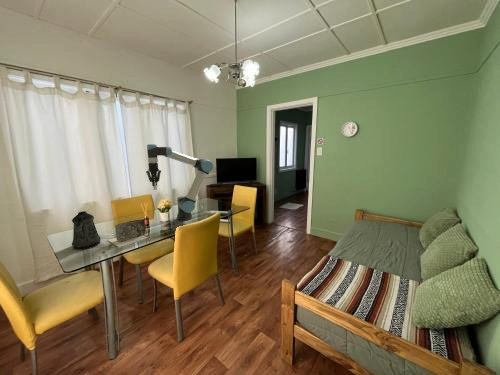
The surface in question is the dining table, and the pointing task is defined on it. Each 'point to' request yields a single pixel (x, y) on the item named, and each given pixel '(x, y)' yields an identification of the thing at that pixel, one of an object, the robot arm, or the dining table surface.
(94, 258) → the dining table surface
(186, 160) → the robot arm
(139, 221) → the stone block
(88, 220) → the black drawstring bag
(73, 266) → the dining table surface
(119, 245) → the mat
